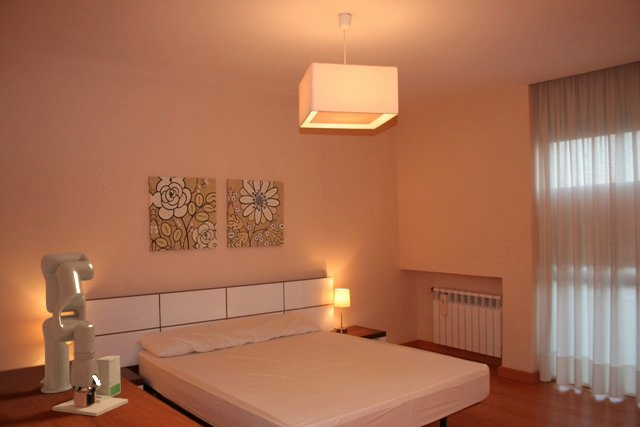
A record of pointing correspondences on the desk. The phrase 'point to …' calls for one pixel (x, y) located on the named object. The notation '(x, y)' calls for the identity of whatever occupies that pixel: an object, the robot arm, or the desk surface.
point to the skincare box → (109, 376)
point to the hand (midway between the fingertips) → (85, 402)
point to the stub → (81, 397)
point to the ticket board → (92, 406)
